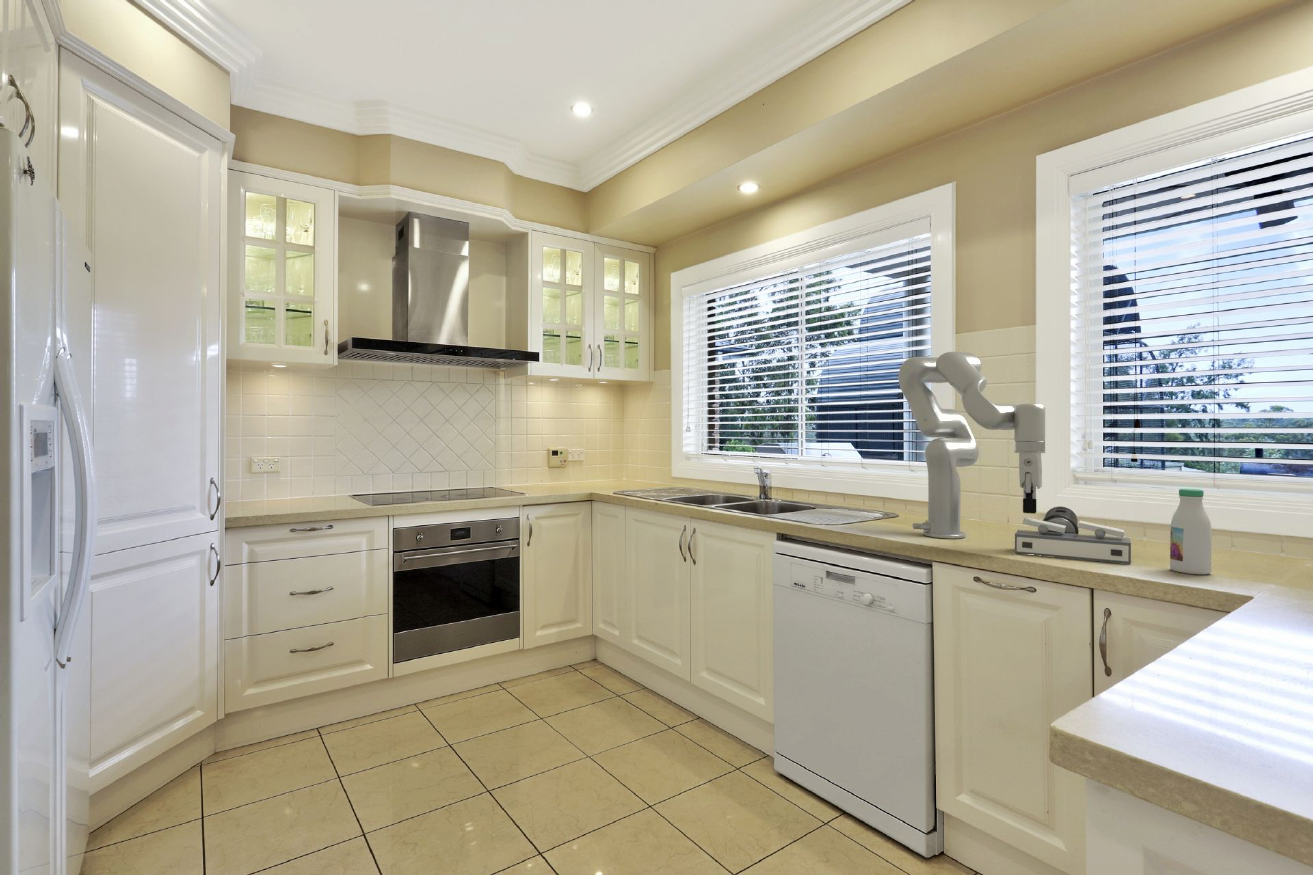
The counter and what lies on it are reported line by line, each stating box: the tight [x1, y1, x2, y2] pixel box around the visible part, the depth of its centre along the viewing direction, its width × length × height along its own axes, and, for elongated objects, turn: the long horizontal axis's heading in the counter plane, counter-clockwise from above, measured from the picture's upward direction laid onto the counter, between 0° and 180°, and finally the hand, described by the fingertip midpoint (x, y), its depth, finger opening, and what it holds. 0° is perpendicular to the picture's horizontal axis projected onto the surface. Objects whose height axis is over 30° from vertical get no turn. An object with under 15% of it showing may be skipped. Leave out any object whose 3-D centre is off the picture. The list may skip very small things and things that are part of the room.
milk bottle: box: [1169, 488, 1212, 575], centre depth 158 cm, size 8×8×20 cm
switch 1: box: [1022, 516, 1066, 533], centre depth 181 cm, size 10×5×3 cm, turn 56°
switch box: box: [1014, 529, 1132, 565], centre depth 177 cm, size 26×9×6 cm, turn 56°
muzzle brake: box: [1042, 505, 1080, 534], centre depth 195 cm, size 10×28×10 cm, turn 147°
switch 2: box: [1078, 520, 1125, 538], centre depth 174 cm, size 10×5×3 cm, turn 56°
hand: (1029, 512), depth 183 cm, fingers closed
